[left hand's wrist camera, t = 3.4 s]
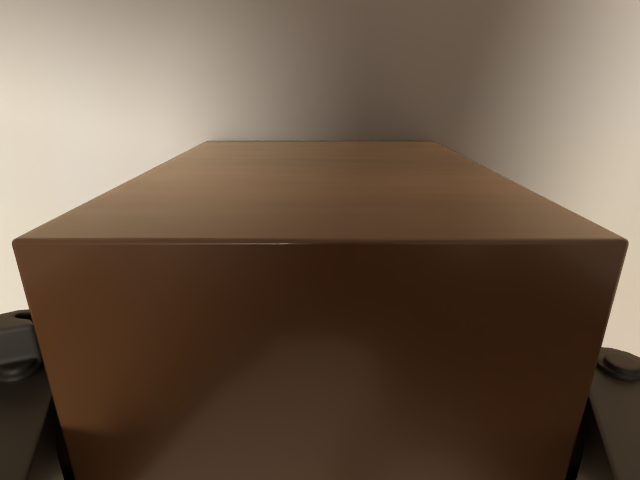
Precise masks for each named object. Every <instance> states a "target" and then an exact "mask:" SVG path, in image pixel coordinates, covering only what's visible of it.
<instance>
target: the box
mask: <svg viewBox="0 0 640 480" xmlns="http://www.w3.org/2000/svg"><path fill="white" fill-rule="evenodd" d="M628 245H629V244H628V240H627V239H625V238H623V237H621V236H619V235H617V234H615V233H613V232H611V231H609V230H607V229H605V228H603V227H601V226H599V225H597V224H596V223H594V222H592V221H590V220H588V219H586V218H584V217H582V216H580V215H578V214H576V213H574V212H572V211H570V210H568V209H566V208H564V207H562V206H560V205H558V204H556V203H554V202H552V201H550V200H548V199H546V198H544V197H542V196H540V195H539V194H537V193H535V192H533V191H531V190H529V189H527V188H525V187H523V186H521V185H519V184H517V183H515V182H513V181H511V180H509V179H507V178H505V177H503V176H501V175H499V174H497V173H495V172H493V171H491V170H489V169H487V168H485V167H483V166H481V165H480V164H478V163H476V162H474V161H472V160H470V159H468V158H466V157H464V156H462V155H460V154H458V153H456V152H454V151H452V150H450V149H448V148H446V147H444V146H442V145H440V144H438V143H436V142H434V141H206V142H204V143H202V144H200V145H198V146H196V147H194V148H192V149H190V150H188V151H186V152H184V153H182V154H180V155H178V156H177V157H175V158H173V159H171V160H169V161H167V162H165V163H163V164H161V165H159V166H157V167H155V168H153V169H151V170H149V171H147V172H145V173H143V174H141V175H139V176H137V177H135V178H133V179H131V180H129V181H127V182H125V183H124V184H122V185H120V186H118V187H116V188H114V189H112V190H110V191H108V192H106V193H104V194H102V195H100V196H98V197H96V198H94V199H92V200H90V201H88V202H86V203H84V204H82V205H80V206H78V207H76V208H74V209H72V210H71V211H69V212H67V213H65V214H63V215H61V216H59V217H57V218H55V219H53V220H51V221H49V222H47V223H45V224H43V225H41V226H39V227H37V228H35V229H33V230H31V231H29V232H27V233H25V234H23V235H21V236H19V237H18V238H16V239H14V240H13V241H12V246H13V250H14V254H15V257H16V261H17V265H18V269H19V272H20V276H21V280H22V284H23V287H24V291H25V295H26V299H27V302H28V306H29V310H30V314H31V317H32V321H33V325H34V329H35V332H36V336H37V340H38V344H39V347H40V351H41V355H42V359H43V362H44V366H45V370H46V374H47V377H48V381H49V385H50V389H51V392H52V396H53V400H54V404H55V407H56V411H57V415H58V419H59V422H60V426H61V430H62V434H63V437H64V441H65V445H66V449H67V452H68V456H69V460H70V464H71V467H72V471H73V475H74V479H75V480H566V477H567V473H568V469H569V465H570V462H571V458H572V454H573V450H574V447H575V443H576V439H577V436H578V432H579V428H580V424H581V421H582V417H583V413H584V409H585V406H586V402H587V398H588V394H589V391H590V387H591V383H592V379H593V376H594V372H595V368H596V364H597V361H598V357H599V353H600V349H601V346H602V342H603V338H604V334H605V331H606V327H607V323H608V319H609V316H610V312H611V308H612V304H613V301H614V297H615V293H616V289H617V286H618V282H619V278H620V274H621V271H622V267H623V263H624V259H625V256H626V252H627V248H628Z"/></svg>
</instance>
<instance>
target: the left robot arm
mask: <svg viewBox="0 0 640 480" xmlns="http://www.w3.org/2000/svg"><path fill="white" fill-rule="evenodd" d="M0 480H75V479H74V475H73V471H72V467H71V464H70V460H69V456H68V452H67V449H66V445H65V441H64V437H63V434H62V430H61V426H60V422H59V419H58V415H57V411H56V407H55V404H54V400H53V396H52V392H51V389H50V385H49V381H48V377H47V374H46V370H45V366H44V362H43V359H42V355H41V351H40V347H39V344H38V340H37V336H36V332H35V329H34V325H33V321H32V317H31V314H30V310H18V311H13V312H9V313H4V314H0ZM566 480H640V357H637V356H635V355H633V354H630V353H628V352H624V351H620V350H617V349H613V348H604V347H601V349H600V353H599V357H598V361H597V364H596V368H595V372H594V376H593V379H592V383H591V387H590V391H589V394H588V398H587V402H586V406H585V409H584V413H583V417H582V421H581V424H580V428H579V432H578V436H577V439H576V443H575V447H574V450H573V454H572V458H571V462H570V465H569V469H568V473H567V477H566Z"/></svg>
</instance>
